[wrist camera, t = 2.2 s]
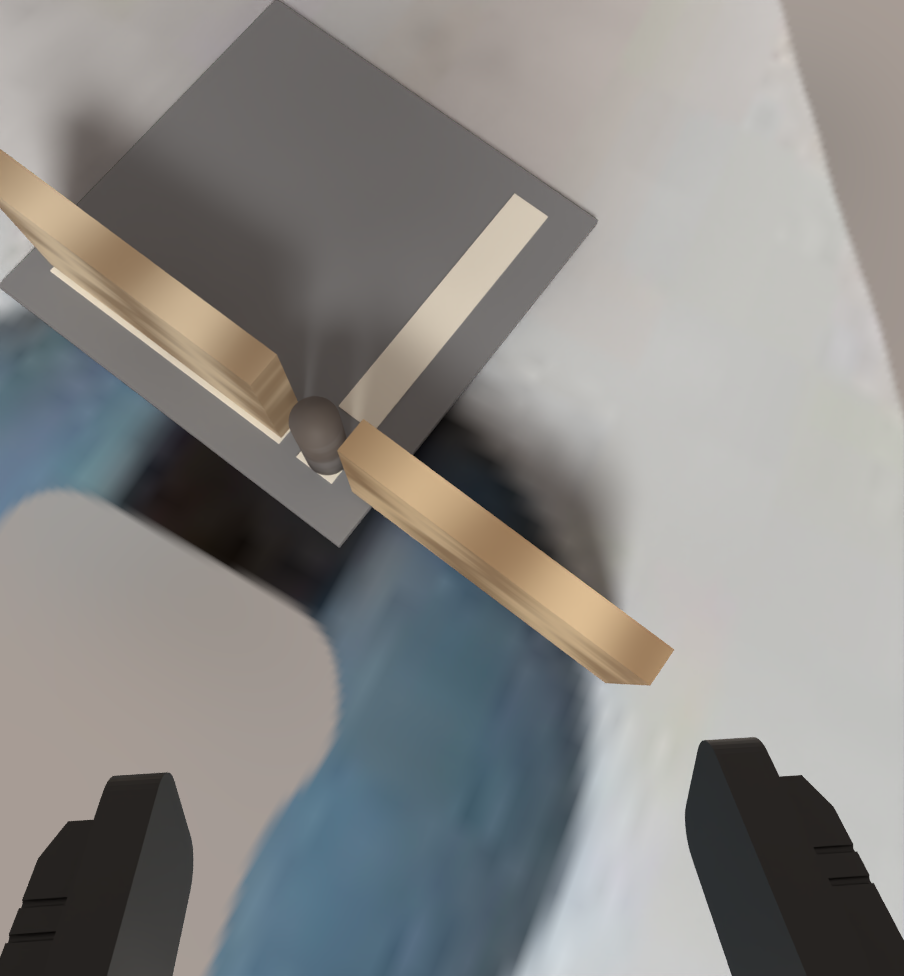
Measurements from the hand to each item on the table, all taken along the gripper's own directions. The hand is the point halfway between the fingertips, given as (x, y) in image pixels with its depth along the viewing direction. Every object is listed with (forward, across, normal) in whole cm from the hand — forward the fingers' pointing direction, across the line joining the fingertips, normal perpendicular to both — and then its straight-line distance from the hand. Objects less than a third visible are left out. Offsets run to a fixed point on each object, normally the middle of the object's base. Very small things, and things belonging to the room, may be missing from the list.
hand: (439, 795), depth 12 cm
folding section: (+21, -3, +13) cm, 25 cm away
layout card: (+32, +5, +2) cm, 33 cm away
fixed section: (+29, +9, +6) cm, 31 cm away
